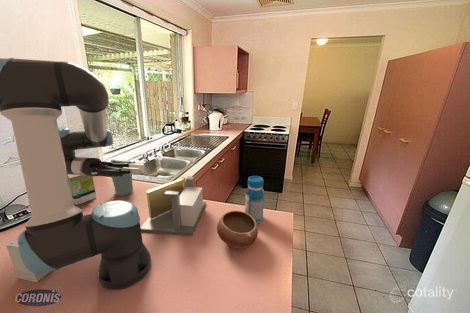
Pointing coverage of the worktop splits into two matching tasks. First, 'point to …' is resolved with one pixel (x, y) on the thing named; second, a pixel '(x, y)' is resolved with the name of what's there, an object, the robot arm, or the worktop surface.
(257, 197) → the beverage bottle
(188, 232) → the base
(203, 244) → the worktop surface
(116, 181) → the drinking glass
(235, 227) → the bowl
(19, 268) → the supplement box
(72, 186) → the tea box
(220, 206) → the worktop surface
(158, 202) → the tan rectangular upright panel
